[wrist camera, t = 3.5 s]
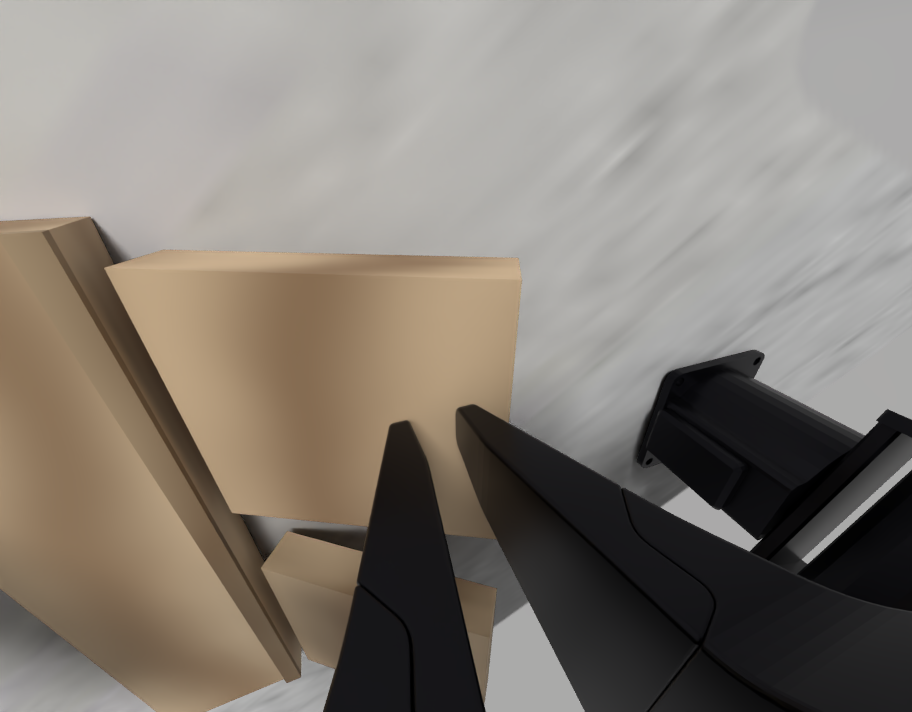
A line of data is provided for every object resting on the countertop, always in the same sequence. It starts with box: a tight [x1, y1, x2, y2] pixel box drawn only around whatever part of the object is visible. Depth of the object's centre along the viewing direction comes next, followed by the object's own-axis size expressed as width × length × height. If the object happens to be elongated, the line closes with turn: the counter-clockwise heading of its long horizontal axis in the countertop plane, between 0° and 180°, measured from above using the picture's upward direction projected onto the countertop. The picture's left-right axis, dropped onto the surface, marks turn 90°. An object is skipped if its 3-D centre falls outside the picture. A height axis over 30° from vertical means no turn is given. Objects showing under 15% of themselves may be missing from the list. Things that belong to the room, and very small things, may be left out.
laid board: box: [0, 217, 301, 712], centre depth 11 cm, size 5×20×2 cm, turn 0°
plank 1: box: [104, 250, 522, 539], centre depth 9 cm, size 8×8×1 cm
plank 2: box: [261, 531, 497, 702], centre depth 14 cm, size 8×8×1 cm
